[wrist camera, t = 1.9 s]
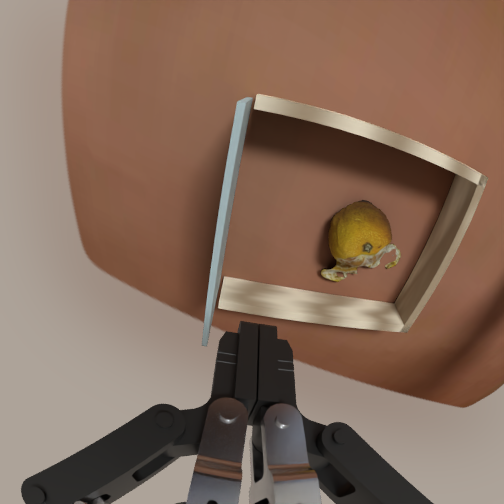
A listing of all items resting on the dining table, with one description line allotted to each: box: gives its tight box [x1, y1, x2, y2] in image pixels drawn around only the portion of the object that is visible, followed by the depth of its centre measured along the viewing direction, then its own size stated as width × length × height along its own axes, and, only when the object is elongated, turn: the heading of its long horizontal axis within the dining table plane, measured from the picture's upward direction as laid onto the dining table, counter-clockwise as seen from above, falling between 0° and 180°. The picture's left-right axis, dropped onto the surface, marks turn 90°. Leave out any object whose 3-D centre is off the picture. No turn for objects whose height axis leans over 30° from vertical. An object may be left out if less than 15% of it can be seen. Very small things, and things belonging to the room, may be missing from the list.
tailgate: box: [202, 97, 253, 346], centre depth 20 cm, size 1×17×8 cm, turn 169°
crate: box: [218, 94, 488, 333], centre depth 23 cm, size 20×18×4 cm
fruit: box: [321, 200, 401, 282], centre depth 24 cm, size 8×8×4 cm
